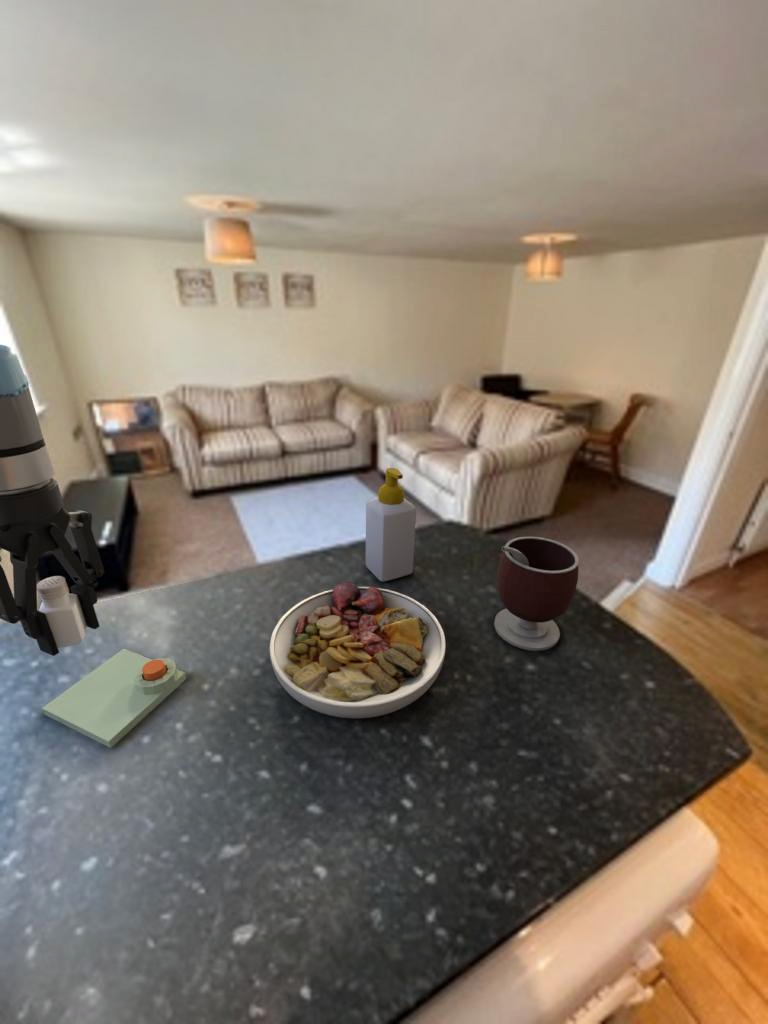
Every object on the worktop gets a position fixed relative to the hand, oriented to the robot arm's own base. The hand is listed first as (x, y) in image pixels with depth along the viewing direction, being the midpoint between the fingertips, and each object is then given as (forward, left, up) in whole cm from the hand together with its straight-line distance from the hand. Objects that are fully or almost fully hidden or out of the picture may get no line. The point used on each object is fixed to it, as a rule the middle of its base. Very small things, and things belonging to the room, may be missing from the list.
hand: (71, 637), depth 63 cm
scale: (+1, +3, -14) cm, 14 cm away
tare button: (+5, +7, -11) cm, 14 cm away
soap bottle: (+26, +55, -14) cm, 63 cm away
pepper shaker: (0, 0, 0) cm, 1 cm away
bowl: (+32, +26, -14) cm, 44 cm away
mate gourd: (+58, +46, -14) cm, 75 cm away
